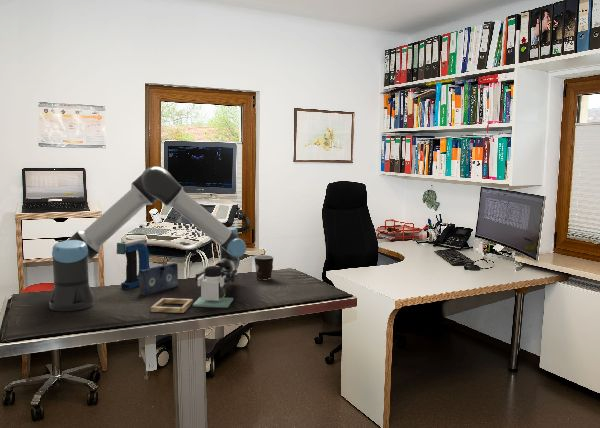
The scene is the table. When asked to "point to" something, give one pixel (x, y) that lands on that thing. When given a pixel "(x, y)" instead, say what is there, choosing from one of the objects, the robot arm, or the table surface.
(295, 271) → the table surface
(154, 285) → the vhs cassette tape
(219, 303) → the rubber mat
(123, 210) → the robot arm
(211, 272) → the medicine bottle
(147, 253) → the handheld scanner
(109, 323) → the table surface
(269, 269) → the coffee mug
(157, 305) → the oak cradle
